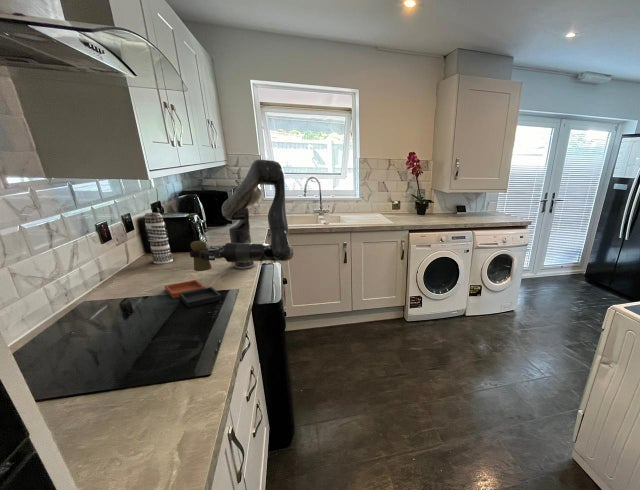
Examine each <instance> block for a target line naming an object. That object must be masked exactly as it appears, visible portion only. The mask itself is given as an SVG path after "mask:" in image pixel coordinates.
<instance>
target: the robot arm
mask: <svg viewBox="0 0 640 490" xmlns="http://www.w3.org/2000/svg"><path fill="white" fill-rule="evenodd" d="M285 185H286V184H285V171H284V167H283V165H282V164H281V162H279V161H277V160H269V159H255V160H254V161H253V162H252V163H251V164H250V167H249V169H248V172H247V173H246V175H245V177H244V179H243V180H242V181H241V182H240V184H239V185H238V186H237V188H236V189H235V191H234V192H233V193H232V194H231V196H230V197H228V198H227V199H226V200H225V201H224V202H223V203H222V205H221V213H222V214H221V215H222V216H223V217H224V218H225V219H226V220H228V221H238V222H237V223H236V224H234V225H233V226H231V227H229V228H228V231H229V233H228V234H229V238H230V242H227V243H225V244H224V245H211V246H208V245H206V246H207V247H206V251H193V250H191V251H189V256H190V258H194V257H200V259H202V260H209V261H213V262H215V261H216V259H217V260H220V259H221V260H222V259H223V258H224V259H225V261H226V262H227V263H233V267H234V269H238V270H245V269H251V268H253V267H255V262H268V261H269V262H270V261H271V262H288V261H290V260H292V259H293V257H294V256H295V250H294V248H293V247H292V246H291V245H290V241H289V240H290V239H289V235H290V230H289V226H288V224H289V223H288V219H287V212H286V210H287V209H286V186H285ZM261 186H273V187H274V196H273V200H272V203H271V205H270V207H269V210H268V213H267V223H268V227H269V233H270V244H266V243H252V237H251V222H250V209H249V208H250V207H252V206H254V205H255V204H256V203H257V202H258V201H259V200H260V199H261V197H262V188H261ZM204 255H205V256H204Z"/></svg>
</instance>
